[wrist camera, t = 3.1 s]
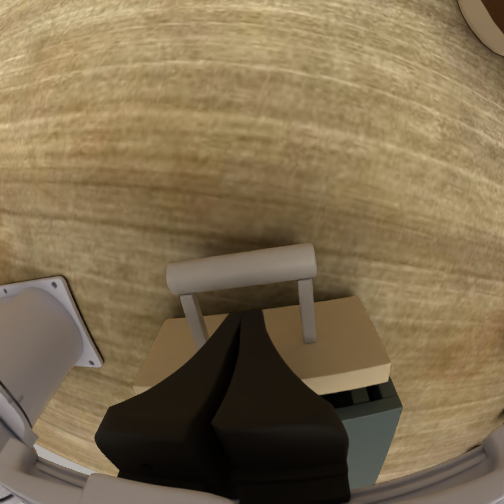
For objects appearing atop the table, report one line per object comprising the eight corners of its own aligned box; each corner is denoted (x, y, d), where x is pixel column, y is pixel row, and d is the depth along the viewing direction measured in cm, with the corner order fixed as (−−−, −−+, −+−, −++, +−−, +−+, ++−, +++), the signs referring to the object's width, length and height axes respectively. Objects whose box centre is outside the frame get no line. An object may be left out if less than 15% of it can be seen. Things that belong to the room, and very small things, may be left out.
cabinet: (171, 339, 19) (133, 427, 12) (363, 316, 17) (403, 406, 10) (222, 450, 24) (212, 515, 17) (352, 438, 22) (365, 504, 15)
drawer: (141, 246, 15) (88, 298, 10) (355, 214, 14) (401, 257, 9) (218, 441, 22) (209, 495, 16) (350, 428, 21) (361, 484, 15)
